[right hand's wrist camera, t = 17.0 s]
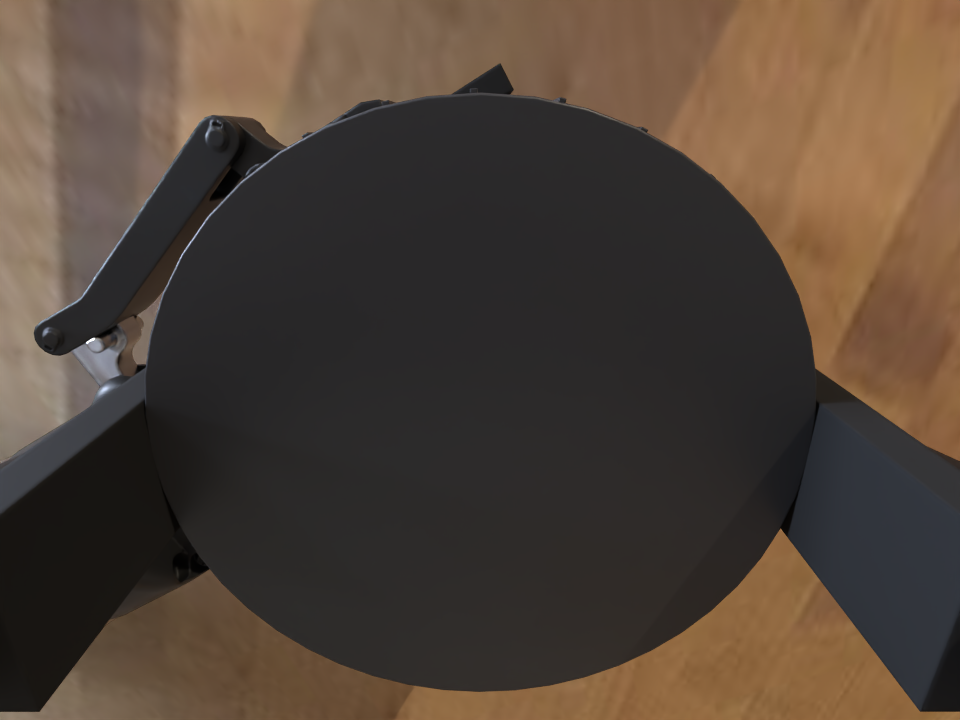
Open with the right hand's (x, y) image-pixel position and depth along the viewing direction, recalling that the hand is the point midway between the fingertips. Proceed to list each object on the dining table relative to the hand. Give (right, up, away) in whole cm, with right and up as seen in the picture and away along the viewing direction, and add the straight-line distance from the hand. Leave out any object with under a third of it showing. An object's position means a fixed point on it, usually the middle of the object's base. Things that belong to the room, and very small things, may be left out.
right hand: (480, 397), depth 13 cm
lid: (0, -1, -3) cm, 3 cm away
